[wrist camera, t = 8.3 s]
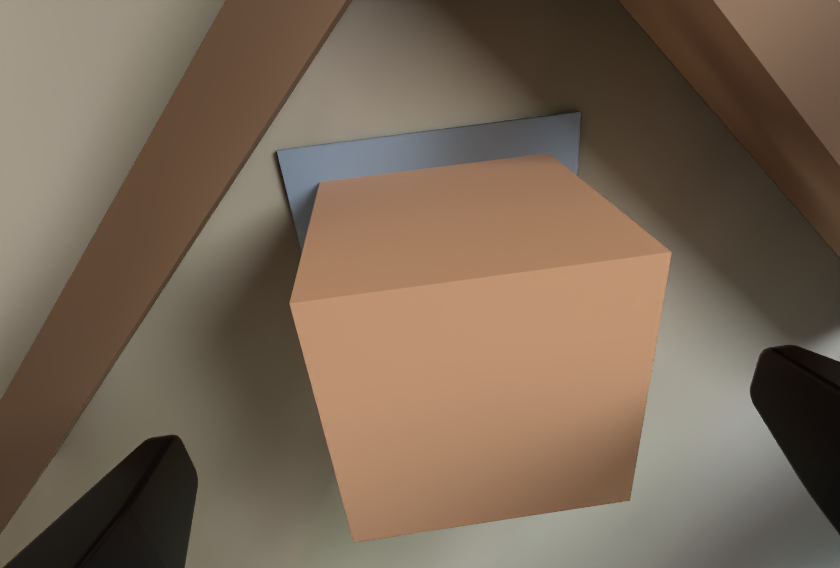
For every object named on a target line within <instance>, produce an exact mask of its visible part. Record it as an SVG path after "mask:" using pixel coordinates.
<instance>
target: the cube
mask: <svg viewBox="0 0 840 568" xmlns="http://www.w3.org/2000/svg"><path fill="white" fill-rule="evenodd" d="M671 254H672V252H671V251H670V250H669V249H667V248H666V247H665V246H664V245H662V244H661V243H660V242H659V241H657V240H656V239H655V238H654V237H653V236H651V235H650V234H649V233H648V232H646V231H645V230H644V229H643V228H641V227H640V226H639V225H638V224H636V223H635V222H634V221H633V220H631V219H630V218H629V217H628V216H626V215H625V214H624V213H623V212H621V211H620V210H619V209H618V208H617V207H615V206H614V205H613V204H612V203H610V202H609V201H608V200H607V199H605V198H604V197H603V196H602V195H600V194H599V193H598V192H597V191H595V190H594V189H593V188H592V187H590V186H589V185H588V184H587V183H585V182H584V181H583V180H582V179H581V178H579V177H578V176H577V175H576V174H574V173H573V172H572V171H571V170H569V169H568V168H567V167H566V166H564V165H563V164H562V163H561V162H559V161H558V160H557V159H556V158H554V157H553V156H552V155H551V154H549V153H546V154H538V155H530V156H522V157H514V158H506V159H498V160H491V161H483V162H475V163H467V164H459V165H451V166H443V167H435V168H427V169H419V170H411V171H403V172H395V173H387V174H379V175H371V176H364V177H356V178H348V179H340V180H332V181H324V182H320V183H319V187H318V191H317V195H316V199H315V203H314V207H313V211H312V215H311V219H310V223H309V227H308V231H307V235H306V239H305V243H304V247H303V251H302V255H301V259H300V263H299V267H298V271H297V275H296V279H295V283H294V287H293V291H292V295H291V299H290V303H289V304H290V307H291V311H292V315H293V319H294V322H295V326H296V330H297V333H298V337H299V341H300V345H301V348H302V352H303V356H304V360H305V363H306V367H307V371H308V374H309V378H310V382H311V386H312V389H313V393H314V397H315V400H316V404H317V408H318V412H319V415H320V419H321V423H322V426H323V430H324V434H325V438H326V441H327V445H328V449H329V452H330V456H331V460H332V464H333V467H334V471H335V475H336V478H337V482H338V486H339V490H340V493H341V497H342V501H343V504H344V508H345V512H346V516H347V519H348V523H349V527H350V530H351V534H352V538H353V542H361V541H367V540H374V539H380V538H387V537H393V536H400V535H407V534H413V533H420V532H426V531H433V530H439V529H446V528H453V527H459V526H466V525H472V524H479V523H485V522H492V521H499V520H505V519H512V518H518V517H525V516H531V515H538V514H544V513H551V512H558V511H564V510H571V509H577V508H584V507H590V506H597V505H604V504H610V503H617V502H623V501H630V497H631V491H632V485H633V479H634V473H635V467H636V461H637V455H638V449H639V444H640V438H641V432H642V426H643V420H644V414H645V408H646V402H647V396H648V390H649V384H650V378H651V372H652V366H653V361H654V355H655V349H656V343H657V337H658V331H659V325H660V319H661V313H662V307H663V301H664V295H665V289H666V283H667V278H668V272H669V266H670V260H671Z"/></svg>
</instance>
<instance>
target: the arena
mask: <svg viewBox="0 0 840 568" xmlns="http://www.w3.org/2000/svg"><path fill="white" fill-rule="evenodd" d="M351 1H352V0H226V1H225V3H224V5H223V7H222V8H221V10H220V12H219V14H218V15H217V17H216V19H215V21H214V23H213V24H212V26H211V28H210V30H209V31H208V33H207V35H206V37H205V39H204V40H203V42H202V44H201V46H200V47H199V49H198V51H197V53H196V55H195V56H194V58H193V60H192V62H191V63H190V65H189V67H188V69H187V71H186V72H185V74H184V76H183V78H182V79H181V81H180V83H179V85H178V87H177V88H176V90H175V92H174V94H173V96H172V97H171V99H170V101H169V103H168V104H167V106H166V108H165V110H164V112H163V113H162V115H161V117H160V119H159V120H158V122H157V124H156V126H155V128H154V129H153V131H152V133H151V135H150V136H149V138H148V140H147V142H146V144H145V145H144V147H143V149H142V151H141V152H140V154H139V156H138V158H137V160H136V161H135V163H134V165H133V167H132V168H131V170H130V172H129V174H128V176H127V177H126V179H125V181H124V183H123V184H122V186H121V188H120V190H119V192H118V193H117V195H116V197H115V199H114V200H113V202H112V204H111V206H110V208H109V209H108V211H107V213H106V215H105V216H104V218H103V220H102V222H101V224H100V225H99V227H98V229H97V231H96V233H95V234H94V236H93V238H92V240H91V241H90V243H89V245H88V247H87V249H86V250H85V252H84V254H83V256H82V257H81V259H80V261H79V263H78V265H77V266H76V268H75V270H74V272H73V273H72V275H71V277H70V279H69V281H68V282H67V284H66V286H65V288H64V289H63V291H62V293H61V295H60V297H59V298H58V300H57V302H56V304H55V305H54V307H53V309H52V311H51V313H50V314H49V316H48V318H47V320H46V321H45V323H44V325H43V327H42V329H41V330H40V332H39V334H38V336H37V337H36V339H35V341H34V343H33V345H32V346H31V348H30V350H29V352H28V353H27V355H26V357H25V359H24V361H23V362H22V364H21V366H20V368H19V369H18V371H17V373H16V375H15V377H14V378H13V380H12V382H11V384H10V386H9V387H8V389H7V391H6V393H5V394H4V396H3V398H2V400H1V402H0V534H1V532H2V531H3V530H4V528H5V527H6V525H7V524H8V522H9V521H10V519H11V518H12V516H13V515H14V514H15V512H16V511H17V509H18V508H19V506H20V505H21V503H22V502H23V500H24V499H25V498H26V496H27V495H28V493H29V492H30V490H31V489H32V487H33V486H34V484H35V483H36V482H37V480H38V479H39V477H40V476H41V474H42V473H43V471H44V470H45V468H46V467H47V466H48V464H49V463H50V461H51V460H52V458H53V457H54V455H55V454H56V452H57V451H58V449H59V448H60V446H61V445H62V443H63V441H64V440H65V438H66V437H67V435H68V434H69V432H70V431H71V429H72V428H73V426H74V425H75V423H76V422H77V420H78V419H79V417H80V415H81V414H82V412H83V411H84V409H85V408H86V406H87V405H88V403H89V402H90V400H91V399H92V397H93V396H94V394H95V393H96V391H97V389H98V388H99V386H100V385H101V383H102V382H103V380H104V379H105V377H106V376H107V374H108V373H109V371H110V370H111V368H112V367H113V365H114V364H115V362H116V360H117V359H118V357H119V356H120V354H121V353H122V351H123V350H124V348H125V347H126V345H127V344H128V342H129V341H130V339H131V338H132V336H133V334H134V333H135V331H136V330H137V328H138V327H139V325H140V324H141V322H142V321H143V319H144V318H145V316H146V315H147V313H148V312H149V310H150V308H151V307H152V305H153V304H154V302H155V301H156V299H157V298H158V296H159V295H160V293H161V292H162V290H163V289H164V287H165V286H166V284H167V282H168V281H169V279H170V278H171V276H172V275H173V273H174V272H175V270H176V269H177V267H178V266H179V264H180V263H181V261H182V260H183V258H184V257H185V255H186V253H187V252H188V250H189V249H190V247H191V246H192V244H193V243H194V241H195V240H196V238H197V237H198V235H199V234H200V232H201V231H202V229H203V227H204V226H205V224H206V223H207V221H208V220H209V218H210V217H211V215H212V214H213V212H214V211H215V209H216V208H217V206H218V205H219V203H220V201H221V200H222V198H223V197H224V195H225V194H226V192H227V191H228V189H229V188H230V186H231V185H232V183H233V182H234V180H235V179H236V177H237V175H238V174H239V172H240V171H241V169H242V168H243V166H244V165H245V163H246V162H247V160H248V159H249V157H250V156H251V154H252V153H253V151H254V149H255V148H256V146H257V145H258V143H259V142H260V140H261V139H262V137H263V136H264V134H265V133H266V131H267V130H268V128H269V127H270V125H271V124H272V122H273V120H274V119H275V117H276V116H277V114H278V113H279V111H280V110H281V108H282V107H283V105H284V104H285V102H286V101H287V99H288V98H289V96H290V94H291V93H292V91H293V90H294V88H295V87H296V85H297V84H298V82H299V81H300V79H301V78H302V76H303V75H304V73H305V72H306V70H307V68H308V67H309V65H310V64H311V62H312V61H313V59H314V58H315V56H316V55H317V53H318V52H319V50H320V49H321V47H322V46H323V44H324V43H325V41H326V39H327V38H328V36H329V35H330V33H331V32H332V30H333V29H334V27H335V26H336V24H337V23H338V21H339V20H340V18H341V17H342V15H343V13H344V12H345V10H346V9H347V7H348V6H349V4H350V3H351ZM618 1H619V2H620V3H621V4H622V5H623V7H624V8H625V9H626V10H627V11H628V12H629V13H630V15H631V16H632V17H633V18H634V19H635V20H636V22H637V23H638V24H639V25H640V26H641V27H642V29H643V30H644V31H645V32H646V33H647V34H648V36H649V37H650V38H651V39H652V40H653V41H654V43H655V44H656V45H657V46H658V47H659V48H660V50H661V51H662V52H663V53H664V54H665V55H666V57H667V58H668V59H669V60H670V61H671V62H672V63H673V65H674V66H675V67H676V68H677V69H678V70H679V72H680V73H681V74H682V75H683V76H684V77H685V79H686V80H687V81H688V82H689V83H690V84H691V86H692V87H693V88H694V89H695V90H696V91H697V93H698V94H699V95H700V96H701V97H702V98H703V100H704V101H705V102H706V103H707V104H708V105H709V107H710V108H711V109H712V110H713V111H714V112H715V113H716V115H717V116H718V117H719V118H720V119H721V120H722V122H723V123H724V124H725V125H726V126H727V127H728V129H729V130H730V131H731V132H732V133H733V134H734V136H735V137H736V138H737V139H738V140H739V141H740V143H741V144H742V145H743V146H744V147H745V148H746V150H747V151H748V152H749V153H750V154H751V155H752V156H753V158H754V159H755V160H756V161H757V162H758V163H759V165H760V166H761V167H762V168H763V169H764V170H765V172H766V173H767V174H768V175H769V176H770V177H771V179H772V180H773V181H774V182H775V183H776V184H777V186H778V187H779V188H780V189H781V190H782V191H783V193H784V194H785V195H786V196H787V197H788V198H789V200H790V201H791V202H792V203H793V204H794V205H795V206H796V208H797V209H798V210H799V211H800V212H801V213H802V215H803V216H804V217H805V218H806V219H807V220H808V222H809V223H810V224H811V225H812V226H813V227H814V229H815V230H816V231H817V232H818V233H819V234H820V236H821V237H822V238H823V239H824V240H825V241H826V243H827V244H828V245H829V246H830V247H831V248H832V250H833V251H834V252H835V253H836V254H837V255H838V256H839V258H840V2H839V1H838V0H618ZM580 120H581V112H572V113H564V114H556V115H548V116H540V117H532V118H525V119H517V120H509V121H501V122H493V123H485V124H478V125H470V126H462V127H454V128H446V129H438V130H431V131H423V132H415V133H407V134H399V135H391V136H384V137H376V138H368V139H360V140H352V141H344V142H337V143H329V144H321V145H313V146H305V147H297V148H290V149H282V150H277V154H278V158H279V162H280V166H281V170H282V174H283V179H284V183H285V187H286V191H287V195H288V199H289V203H290V207H291V211H292V215H293V219H294V223H295V227H296V232H297V236H298V240H299V244H300V248H301V252H302V251H303V247H304V243H305V239H306V235H307V231H308V227H309V223H310V219H311V215H312V211H313V207H314V203H315V199H316V195H317V191H318V187H319V183H320V182H324V181H332V180H340V179H348V178H356V177H364V176H371V175H379V174H387V173H395V172H403V171H411V170H419V169H427V168H435V167H443V166H451V165H459V164H467V163H475V162H483V161H491V160H498V159H506V158H514V157H522V156H530V155H538V154H546V153H549V154H551V155H552V156H553V157H554V158H556V159H557V160H558V161H559V162H561V163H562V164H563V165H564V166H566V167H567V168H568V169H569V170H571V171H572V172H573V173H574V174H576V175H578V156H579V138H580Z"/></svg>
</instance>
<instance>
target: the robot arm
mask: <svg viewBox="0 0 840 568" xmlns="http://www.w3.org/2000/svg"><path fill="white" fill-rule="evenodd" d="M750 395H751V399H752V402H753V404H754V406H755V408H756V409H757V411H758V412H759V414H760V416H761V417H762V419H763V421H764V422H765V424H766V425H767V427H768V429H769V430H770V432H771V434H772V435H773V437H774V438H775V440H776V442H777V443H778V445H779V447H780V448H781V450H782V451H783V453H784V455H785V456H786V458H787V460H788V461H789V463H790V464H791V466H792V468H793V469H794V471H795V473H796V474H797V476H798V477H799V479H800V480H801V482H802V484H803V485H804V487H805V488H806V490H807V491H808V493H809V494H810V495H811V497H812V498H813V500H814V501H815V502H816V504H817V505H818V507H819V508H820V509H821V511H822V512H823V513H824V515H825V516H826V517H827V519H828V520H829V521H830V523H831V524H832V525H833V527H834V528H835V529H836V531H837V532H838V533H839V535H840V362H839V361H836V360H833V359H831V358H828V357H825V356H823V355H820V354H817V353H814V352H812V351H809V350H806V349H804V348H801V347H798V346H795V345H784V346H777V347H770V348H767V349H764V350H763V351H762V352H761V354H760V356H759V359H758V362H757V366H756V369H755V372H754V376H753V379H752V383H751V386H750ZM197 487H198V478H197V472H196V469H195V467H194V465H193V463H192V461H191V459H190V457H189V454H188V452H187V450H186V448H185V446H184V444H183V442H182V440H181V439H180V438H179V437H178V436H177V435H166V436H159V437H152V438H149V439H147V440H145V441H144V442H143V443H142V444H140V445H139V446H138V447H137V448H136V449H135V450H134V451H133V452H131V453H130V454H129V455H128V456H127V457H126V458H125V459H124V460H123V461H121V462H120V463H119V464H118V465H117V466H116V467H115V468H114V469H112V470H111V471H110V472H109V473H108V474H107V475H106V476H105V477H104V478H102V479H101V480H100V481H99V482H98V483H97V484H96V485H95V486H93V487H92V488H91V489H90V490H89V491H88V492H87V493H86V494H85V495H83V496H82V497H81V498H80V499H79V500H78V501H77V502H76V503H74V504H73V505H72V506H71V507H70V508H69V509H68V510H67V511H66V512H64V513H63V514H62V515H61V516H60V517H59V518H58V519H57V520H55V521H54V522H53V523H52V524H51V525H50V526H49V527H48V528H46V529H45V530H44V531H43V532H42V533H41V534H40V535H39V536H38V537H36V538H35V539H34V540H33V541H32V542H31V543H30V544H29V545H27V546H26V547H25V548H24V549H23V550H22V551H21V552H20V553H19V554H17V555H16V556H15V557H14V558H13V559H12V560H11V561H10V562H8V563H7V564H6V565H5V566H4V567H3V568H185V562H186V556H187V550H188V543H189V537H190V531H191V525H192V518H193V512H194V506H195V500H196V493H197Z"/></svg>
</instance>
